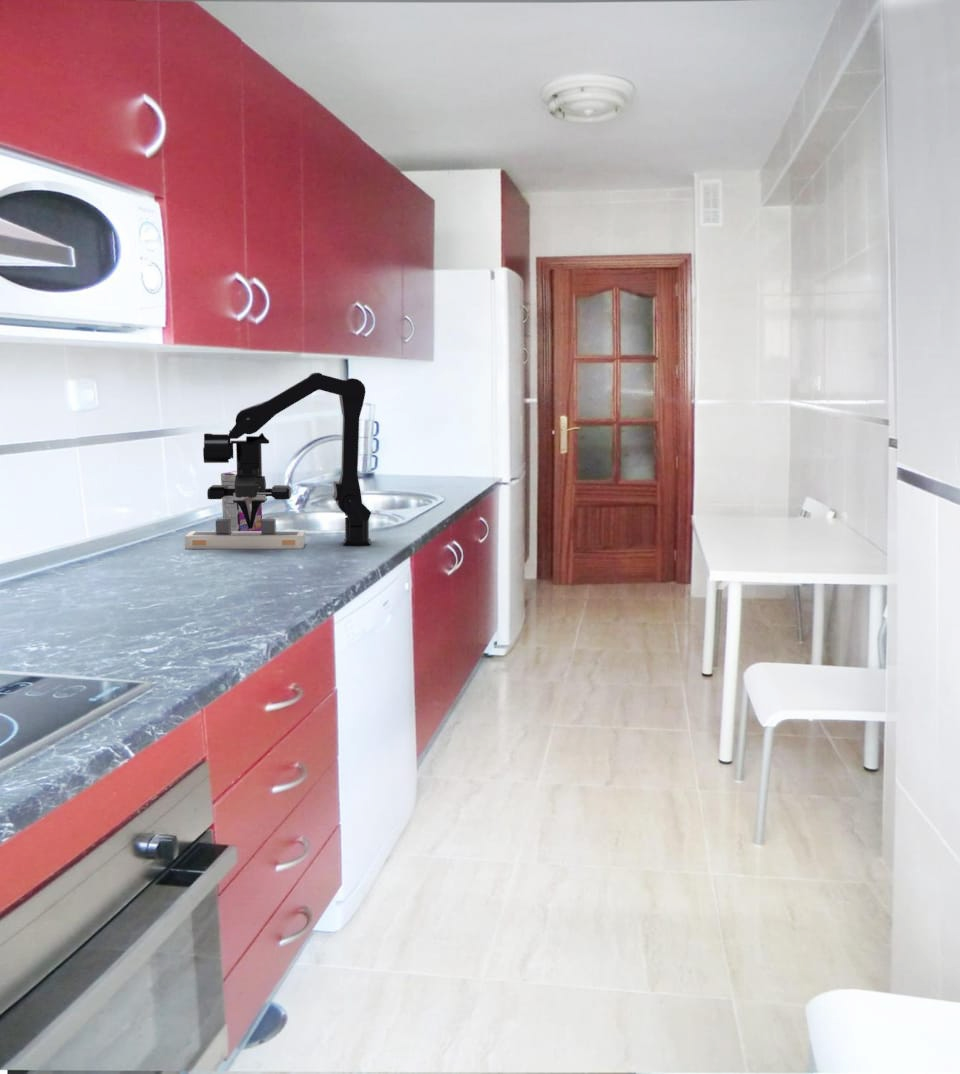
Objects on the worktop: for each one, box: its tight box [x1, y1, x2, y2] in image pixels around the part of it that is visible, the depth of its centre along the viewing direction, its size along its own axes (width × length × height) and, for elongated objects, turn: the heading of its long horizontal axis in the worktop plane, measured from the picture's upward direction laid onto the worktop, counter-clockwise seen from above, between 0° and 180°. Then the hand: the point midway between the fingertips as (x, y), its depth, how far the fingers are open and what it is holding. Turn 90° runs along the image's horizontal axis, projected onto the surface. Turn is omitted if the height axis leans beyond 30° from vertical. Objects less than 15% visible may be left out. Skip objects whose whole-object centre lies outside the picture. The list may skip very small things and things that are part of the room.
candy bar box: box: [220, 470, 263, 531], centre depth 234 cm, size 11×5×16 cm, turn 162°
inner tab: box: [261, 518, 277, 533], centre depth 220 cm, size 3×3×3 cm
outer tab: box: [215, 518, 231, 533], centre depth 219 cm, size 3×3×3 cm
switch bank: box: [184, 530, 306, 550], centre depth 220 cm, size 7×27×3 cm, turn 96°
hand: (250, 528), depth 220 cm, fingers closed
